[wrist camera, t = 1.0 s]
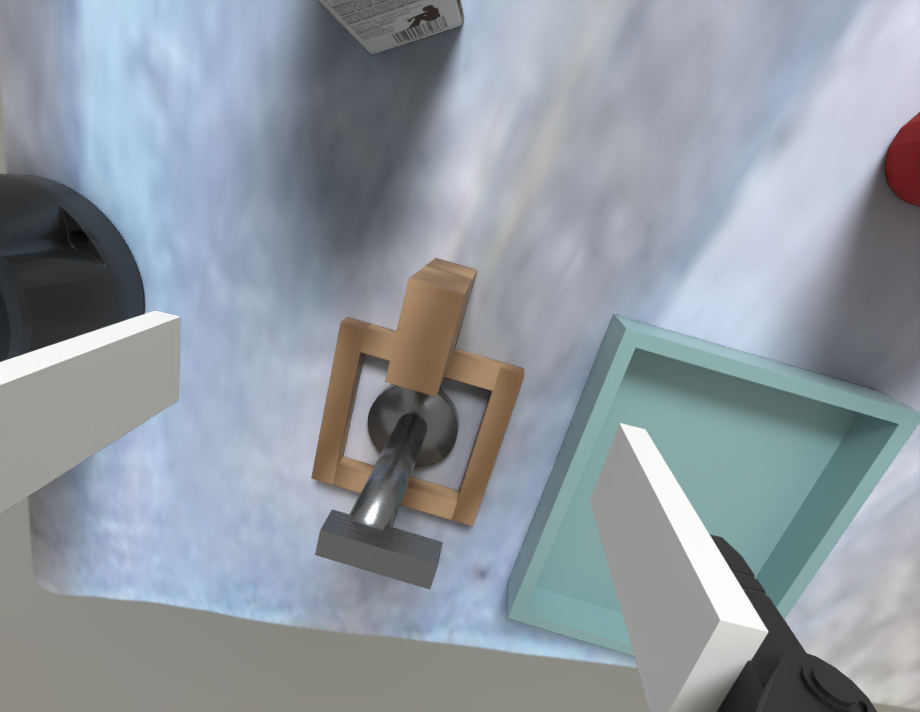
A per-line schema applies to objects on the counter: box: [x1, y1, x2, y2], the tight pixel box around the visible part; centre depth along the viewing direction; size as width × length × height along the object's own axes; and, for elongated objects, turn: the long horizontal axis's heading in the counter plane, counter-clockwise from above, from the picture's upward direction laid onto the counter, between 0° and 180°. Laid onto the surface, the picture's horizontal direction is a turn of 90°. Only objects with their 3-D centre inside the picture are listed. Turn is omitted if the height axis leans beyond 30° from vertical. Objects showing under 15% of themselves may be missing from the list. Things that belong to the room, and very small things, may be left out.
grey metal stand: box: [315, 384, 459, 589], centre depth 30 cm, size 8×7×15 cm
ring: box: [312, 258, 524, 526], centre depth 32 cm, size 14×20×9 cm
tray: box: [508, 314, 920, 656], centre depth 35 cm, size 19×25×4 cm
